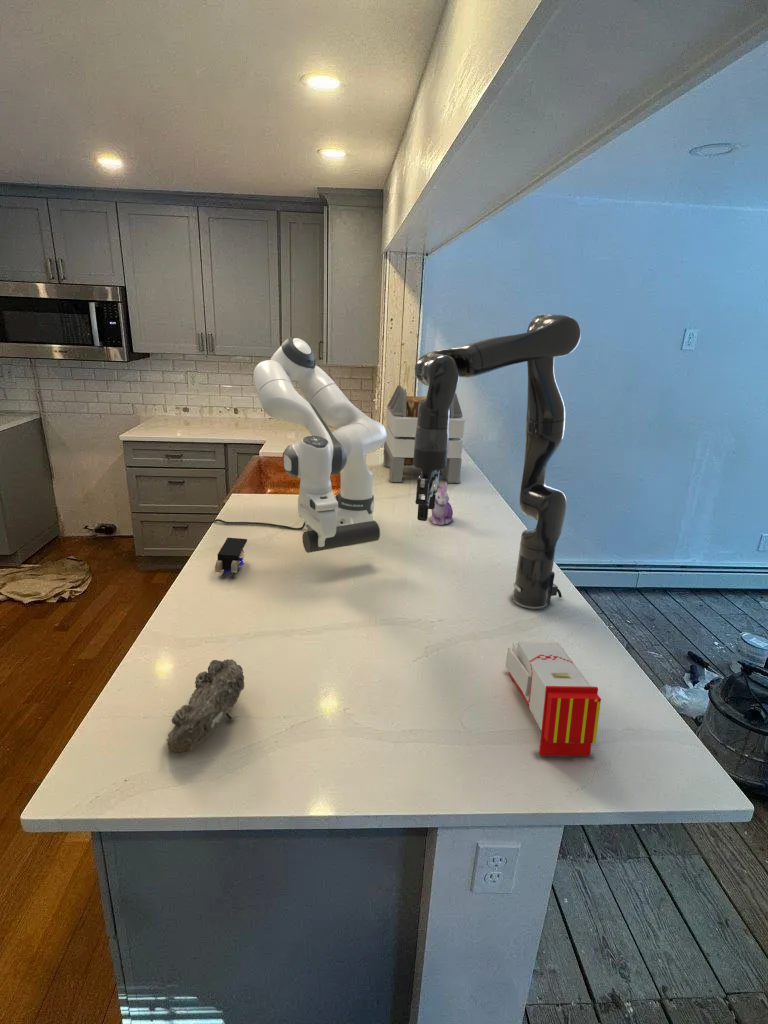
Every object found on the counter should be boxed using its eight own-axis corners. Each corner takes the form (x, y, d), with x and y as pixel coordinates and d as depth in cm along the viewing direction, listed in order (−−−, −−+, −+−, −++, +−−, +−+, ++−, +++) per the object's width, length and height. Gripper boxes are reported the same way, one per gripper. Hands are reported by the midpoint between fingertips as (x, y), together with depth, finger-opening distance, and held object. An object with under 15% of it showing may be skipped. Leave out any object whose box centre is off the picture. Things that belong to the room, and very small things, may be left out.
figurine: (438, 527, 207) (441, 488, 202) (423, 518, 216) (426, 480, 211) (459, 523, 211) (463, 485, 206) (444, 514, 220) (447, 477, 215)
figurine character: (238, 584, 162) (249, 557, 175) (236, 562, 158) (247, 536, 172) (215, 584, 161) (227, 556, 175) (212, 561, 158) (225, 535, 171)
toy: (554, 624, 127) (610, 694, 97) (548, 679, 130) (602, 763, 100) (500, 623, 126) (541, 693, 97) (496, 678, 129) (534, 763, 100)
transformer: (382, 463, 289) (386, 382, 275) (445, 464, 293) (451, 384, 279) (390, 482, 257) (394, 392, 243) (460, 483, 261) (468, 394, 247)
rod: (310, 556, 160) (310, 536, 157) (302, 548, 165) (302, 528, 162) (379, 543, 170) (380, 524, 168) (370, 536, 175) (370, 517, 173)
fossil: (192, 660, 117) (244, 628, 112) (224, 691, 120) (276, 661, 115) (142, 746, 98) (202, 712, 93) (182, 779, 101) (242, 748, 96)
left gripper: (291, 486, 165) (292, 530, 169) (318, 507, 148) (318, 556, 153) (312, 484, 168) (312, 527, 172) (340, 504, 151) (340, 552, 156)
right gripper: (441, 455, 119) (436, 526, 125) (453, 441, 132) (447, 507, 138) (407, 451, 121) (403, 522, 126) (421, 438, 134) (417, 503, 139)
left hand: (315, 541), depth 162 cm, fingers closed on rod, 6 cm apart
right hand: (426, 514), depth 132 cm, fingers open, 8 cm apart
